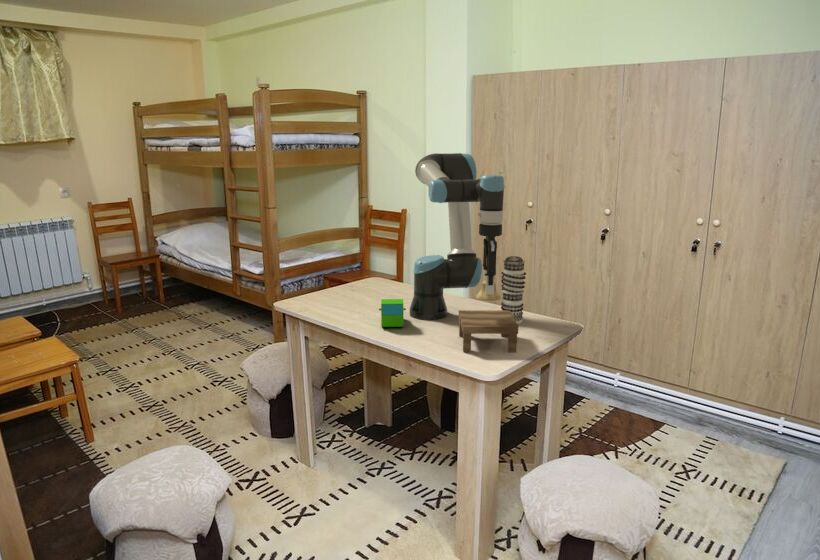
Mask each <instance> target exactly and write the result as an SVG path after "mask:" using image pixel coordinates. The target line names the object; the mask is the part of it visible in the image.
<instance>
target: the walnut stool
mask: <svg viewBox="0 0 820 560" xmlns="http://www.w3.org/2000/svg"><path fill="white" fill-rule="evenodd" d="M458 321H459V322H458V325H459V326H458V327H459V328H458V336H459V337H460V338H462V352H463V353H471V352H472V334H477V335H481V334H482V335H484V334H485V335H487V334H488V335H491V334H492V335H493V334H494V335H495V334H496V335H497V334H498V335H500V336H501V337H502V338H507V339H508V340H507V351H508V353H517V346H518V345H517V342H518V340H517V339H518V334H519V324H517V323H516V321H515V320H514V318H513V316H512V314H511V313H510V311H505V310H502V309H500V310H498V309H497V310H493V309H492V310H491V309H490V310H480V309H479V310H476V309H475V310H472V309H471V310H470V309H469V310H461V309H460V310H458Z"/></svg>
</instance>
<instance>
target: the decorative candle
mask: <svg viewBox="0 0 820 560" xmlns="http://www.w3.org/2000/svg"><path fill="white" fill-rule="evenodd" d="M502 262H503V263H504V264H503V270H502V271H501V274H502V275H501V283H502V284H501V292H502V297H501V302H500V305H501V306H500V310H505V311H510V313H511V314H512V316H513V318H514V320H515V321H516V323H517V325H519V324H522V323H523V318H524V317H523V315H524V312H523V311H524V307H523V306H524V303H523V302H524V299H523V298H524V296H523V295H524V292H525V291H524V289H525V284H526V282H525V281H524V280H525V279H526V275H527V273H526V272H525V262H526V261H525V260H523V258H522V257H521V256H515V255H509V256H507V257H506V258H505V259H504V260H503V261H502Z"/></svg>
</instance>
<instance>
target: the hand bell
mask: <svg viewBox="0 0 820 560" xmlns="http://www.w3.org/2000/svg"><path fill="white" fill-rule="evenodd" d="M486 266H487V257H486ZM485 293H486V280H485V281H483V280H482V282H481V287H480V290H479V292H478V293H477V294H475V298H476V299H477V300H481V301H485V302H486V301H489V302H490V301H491V302H492V301H494V302H495V301H499V300H500V299H501V296H500V294H499V293H498V291H497V286H496V281H494V295H489V294H485Z"/></svg>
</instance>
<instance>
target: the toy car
mask: <svg viewBox="0 0 820 560" xmlns="http://www.w3.org/2000/svg"><path fill="white" fill-rule="evenodd" d="M380 307H381V308H379V309H378V311H380V313H381V314H380V316H381V317H380V319H381V325H380V326H381V328H382V329H384V328H383V327H385V328H386V327H389V328H390V327H393V328H394V327H399V328H400V327H401V329H402V328H404V311H406V310H407V308H405V307H404V298H396V299H395V298H387V299H386V298H385V299H384V298H383V299H382V298H381V304H380Z"/></svg>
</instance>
